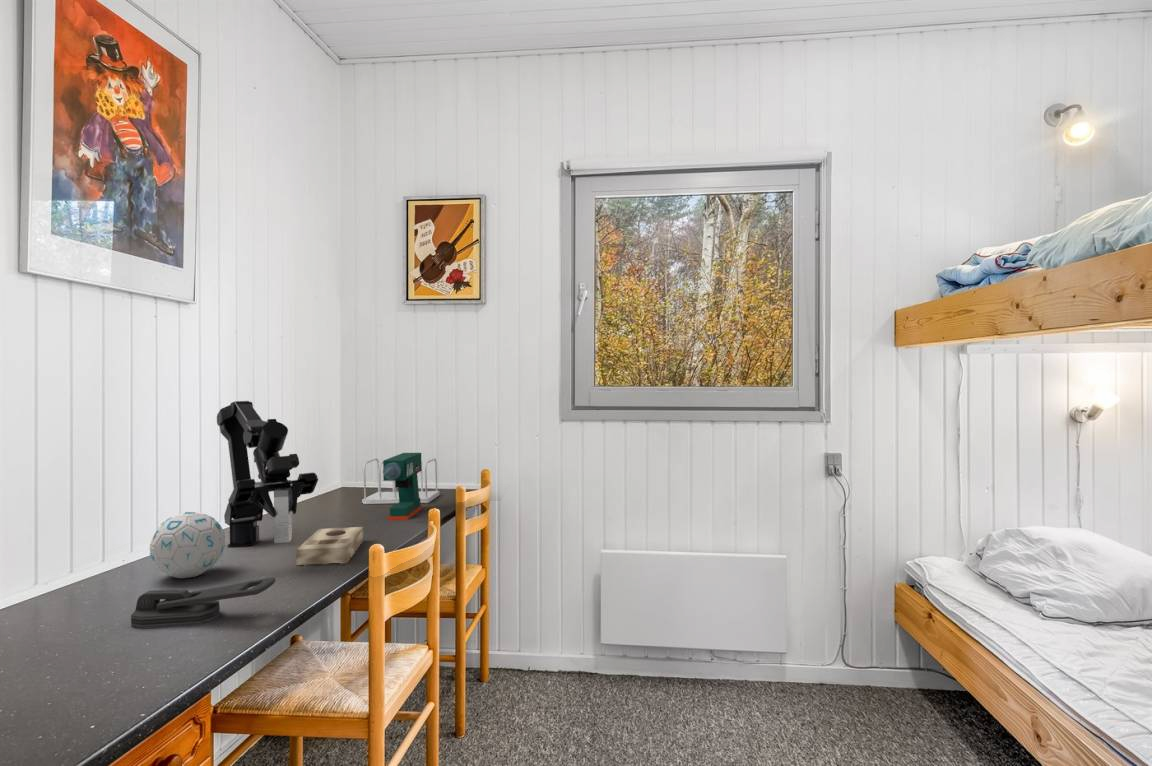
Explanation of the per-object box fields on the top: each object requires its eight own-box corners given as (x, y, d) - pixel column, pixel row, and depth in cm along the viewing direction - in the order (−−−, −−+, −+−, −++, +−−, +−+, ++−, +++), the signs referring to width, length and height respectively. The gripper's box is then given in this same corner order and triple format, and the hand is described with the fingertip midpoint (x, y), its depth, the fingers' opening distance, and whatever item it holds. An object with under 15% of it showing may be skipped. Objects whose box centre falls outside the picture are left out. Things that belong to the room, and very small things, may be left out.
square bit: (274, 543, 149) (273, 491, 149) (277, 539, 152) (277, 488, 152) (288, 542, 150) (288, 490, 150) (291, 538, 153) (291, 488, 153)
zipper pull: (259, 589, 116) (121, 593, 115) (259, 625, 116) (122, 629, 115) (280, 575, 125) (152, 578, 124) (280, 607, 125) (153, 611, 124)
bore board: (296, 565, 153) (296, 548, 153) (318, 543, 175) (318, 528, 175) (347, 563, 155) (346, 546, 155) (363, 540, 177) (362, 526, 177)
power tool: (396, 529, 190) (395, 464, 190) (373, 529, 190) (372, 464, 190) (423, 508, 222) (423, 452, 222) (404, 508, 222) (403, 452, 222)
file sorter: (439, 495, 248) (439, 456, 248) (428, 504, 230) (428, 462, 230) (377, 496, 248) (376, 457, 248) (361, 504, 231) (361, 462, 231)
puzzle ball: (212, 583, 141) (211, 517, 141) (137, 589, 137) (136, 521, 137) (234, 564, 155) (233, 504, 155) (166, 569, 152) (166, 508, 152)
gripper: (234, 446, 147) (249, 499, 139) (315, 441, 160) (332, 489, 152) (226, 476, 153) (239, 528, 145) (304, 468, 166) (320, 516, 158)
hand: (284, 514), depth 150 cm, fingers closed on square bit, 4 cm apart
